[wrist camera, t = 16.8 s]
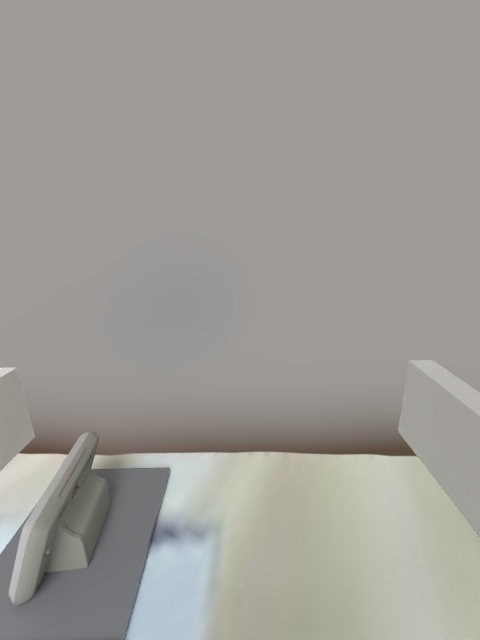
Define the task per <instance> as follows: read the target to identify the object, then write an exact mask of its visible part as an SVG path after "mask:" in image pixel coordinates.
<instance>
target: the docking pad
mask: <svg viewBox="0 0 480 640" xmlns="http://www.w3.org/2000/svg"><path fill="white" fill-rule="evenodd" d="M91 470H92V471H93V472H94V473H95V474H96V475H97V476H99V477H101V478H104V479H105V480H106V481H107V484H108V489H109V495H110V500H111V504H110V507H109V510H108V513H107V515H106V518H105V521H104V524H103V526H102V529H101V532H100V535H99V537H98V540H97V543H96V546H95V548H94V551H93V554H92V557H91V559H90V562H89V565H88V567H87V568H82V569H74V570H65V571H56V572H48V573H45V574H44V576H43V578H42V580H41V582H40V584H39V586H38V589H37V591H36V593H35V594H34V596H33V597H32V598H30V599H29V600H28V601H26V602H24V603H22V604H19V605H15V604H14V605H13V603H12V601H11V599H10V596H9V587H10V583H11V578H12V573H13V569H14V564H15V559H16V555H17V550H18V545H19V541H20V536H21V532H22V529H23V527H24V525H25V523H26V521H27V519H28V518H29V516H30V515H31V513H32V512H31V513H30V514H29V516H28V517H27V518H26V520H25V521H24V523H23V524H22V525H21V527H20V528H19V529H18V531H17V532H16V534H15V535H14V536H13V538H12V539H11V541H10V542H9V543H8V545H7V546H6V547H5V549H4V550H3V552H2V553H1V554H0V640H124V639H125V636H126V632H127V628H128V625H129V621H130V617H131V614H132V610H133V606H134V602H135V599H136V595H137V591H138V588H139V584H140V580H141V577H142V573H143V569H144V566H145V562H146V558H147V555H148V551H149V547H150V543H151V540H152V536H153V532H154V529H155V525H156V521H157V518H158V514H159V510H160V507H161V503H162V499H163V495H164V492H165V488H166V484H167V481H168V477H169V473H170V470H169V468H132V469H91ZM35 507H36V506H35ZM35 507H34V508H35ZM33 510H34V509H33ZM33 510H32V511H33Z"/></svg>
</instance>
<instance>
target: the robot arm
mask: <svg viewBox="0 0 480 640" xmlns="http://www.w3.org/2000/svg"><path fill="white" fill-rule="evenodd" d="M398 432H399V433H400V434H401V435H402V436H403V438H404V439H405V441H406V442H407V443H408V444H409V446H410V447H411V448H412V450H413V451H414V452H415V453H416V455H417V456H418V457H419V459H420V460H421V461H422V463H423V464H424V465H425V466H426V468H427V469H428V470H429V472H430V473H431V474H432V475H433V477H434V478H435V479H436V481H437V482H438V483H439V485H440V486H441V487H442V488H443V490H444V491H445V492H446V494H447V495H448V496H449V497H450V499H451V500H452V501H453V503H454V504H455V505H456V506H457V508H458V509H459V510H460V512H461V513H462V514H463V516H464V517H465V518H466V519H467V521H468V522H469V523H470V525H471V526H472V527H473V528H474V530H475V531H476V532H477V534H478V535H479V536H480V392H478V391H477V390H475V389H474V388H472V387H471V386H469V385H468V384H467V383H465V382H464V381H462V380H461V379H459V378H458V377H456V376H455V375H453V374H452V373H450V372H449V371H448V370H446V369H445V368H443V367H442V366H440V365H439V364H437V363H436V362H435V361H433V360H409V363H408V369H407V375H406V382H405V389H404V395H403V401H402V408H401V414H400V421H399V427H398ZM34 437H35V435H34V431H33V428H32V424H31V420H30V416H29V412H28V409H27V405H26V401H25V397H24V393H23V390H22V386H21V382H20V378H19V375H18V371H17V368H0V471H1V470H2V469H3V468H4V467H5V466H6V465H7V464H8V463H9V462H10V461H11V460H12V459H13V458H14V457H15V456H16V455H17V454H18V453H19V452H20V451H21V450H22V449H23V448H24V447H25V446H26V445H27V444H28V443H29V442H30V441H31V440H32V439H33V438H34Z"/></svg>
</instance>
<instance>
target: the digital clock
mask: <svg viewBox="0 0 480 640" xmlns="http://www.w3.org/2000/svg"><path fill="white" fill-rule="evenodd" d="M98 440H99V439H98V436H97V435H96V433H94V432H92V431H89V432H86V433H84V434H82V435H81V436H80V437H79V439H78V440H77V442H76V444H75V445H74V447H73V448H72V450H71V451H70V453H69V454H68V456H67V458H66V459H65V461H64V462H63V464H62V466H61V467H60V469H59V470H58V472H57V473H56V475H55V477H54V478H53V480H52V481H51V483H50V484H49V486H48V488H47V489H46V491H45V492H44V494H43V496H42V497H41V499H40V500H39V502H38V503H37V505H36V507H35V508H34V510H33V511H32V513H31V515H30V516H29V518H28V519H27V521H26V523H25V525H24V527H23V529H22V532H21V536H20V541H19V545H18V550H17V555H16V559H15V564H14V569H13V573H12V578H11V583H10V587H9V596H10V599H11V601H12V603H13V605H14V604H15V605H19V604H22V603H24V602H26V601H28V600H29V599H30V598H32V597H33V596H34V594H35V593H36V591H37V589H38V586H39V584H40V582H41V580H42V578H43V576H44V574H45V573H48V572H56V571H65V570H74V569H82V568H87V567H88V565H89V562H90V559H91V557H92V554H93V551H94V548H95V546H96V543H97V540H98V537H99V535H100V532H101V529H102V526H103V524H104V521H105V518H106V515H107V513H108V510H109V507H110V504H111V500H110V495H109V489H108V484H107V481H106V480H105V479H104V478H101V477H99V476H97V475H96V474H95V473H94V472H93V471H92V470H91V467H92V463H93V459H94V456H95V452H96V448H97V444H98Z"/></svg>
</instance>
